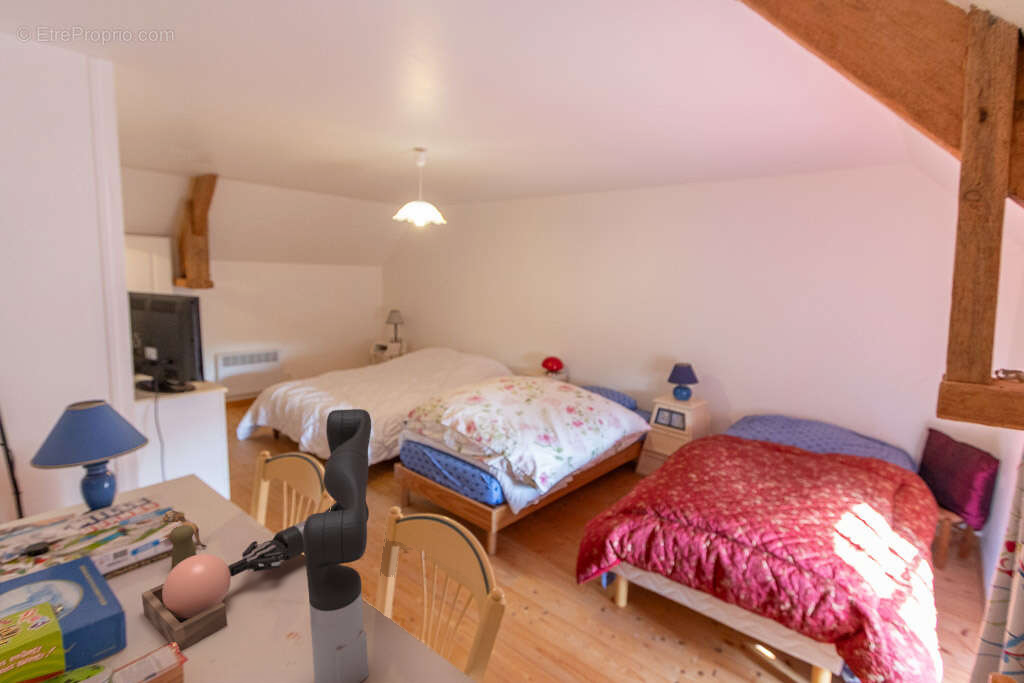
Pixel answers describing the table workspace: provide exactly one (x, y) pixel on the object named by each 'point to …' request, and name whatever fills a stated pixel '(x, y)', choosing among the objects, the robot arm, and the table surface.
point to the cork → (181, 544)
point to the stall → (187, 630)
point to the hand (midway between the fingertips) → (228, 571)
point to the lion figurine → (176, 517)
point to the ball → (196, 585)
